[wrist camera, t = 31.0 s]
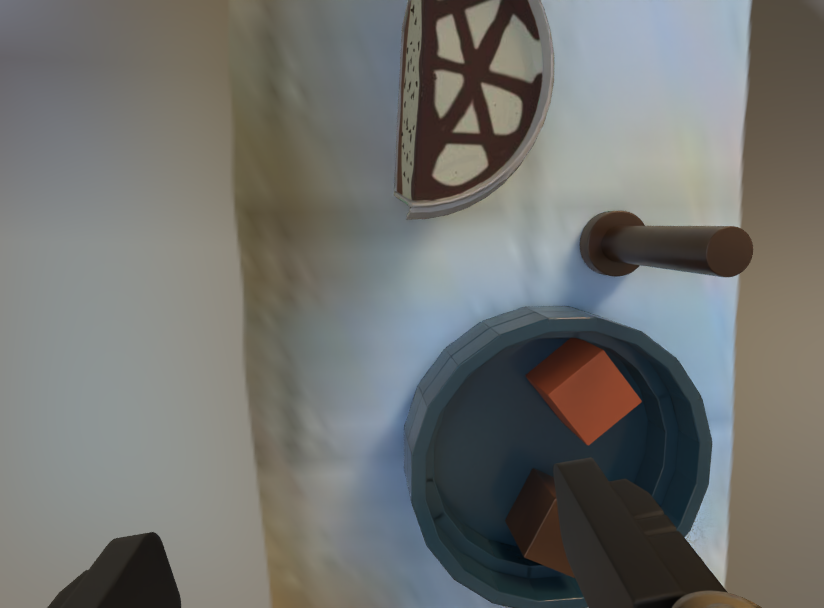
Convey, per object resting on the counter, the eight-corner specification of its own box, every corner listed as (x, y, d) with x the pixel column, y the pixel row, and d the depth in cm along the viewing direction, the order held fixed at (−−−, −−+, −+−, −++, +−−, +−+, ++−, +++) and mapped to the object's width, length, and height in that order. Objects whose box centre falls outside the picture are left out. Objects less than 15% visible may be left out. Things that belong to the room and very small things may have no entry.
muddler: (591, 202, 34) (706, 192, 23) (648, 222, 34) (786, 221, 23) (570, 264, 34) (673, 283, 23) (627, 282, 35) (753, 308, 24)
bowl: (402, 306, 33) (411, 320, 28) (671, 302, 35) (723, 314, 30) (402, 569, 36) (411, 624, 31) (653, 551, 38) (699, 600, 33)
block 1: (532, 467, 35) (555, 498, 31) (584, 490, 36) (613, 523, 32) (504, 520, 35) (523, 557, 31) (556, 542, 36) (581, 581, 32)
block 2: (573, 334, 34) (603, 349, 30) (609, 381, 35) (642, 401, 31) (524, 375, 34) (547, 395, 30) (561, 421, 35) (588, 446, 31)
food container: (492, 226, 33) (553, 226, 23) (392, 220, 32) (411, 218, 23) (508, 12, 31) (580, -85, 22) (403, 1, 31) (428, -105, 21)
